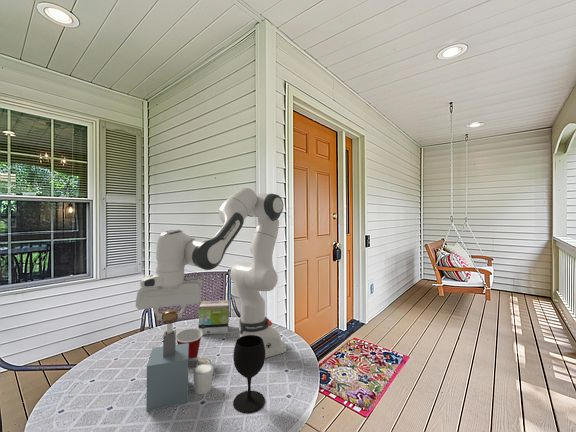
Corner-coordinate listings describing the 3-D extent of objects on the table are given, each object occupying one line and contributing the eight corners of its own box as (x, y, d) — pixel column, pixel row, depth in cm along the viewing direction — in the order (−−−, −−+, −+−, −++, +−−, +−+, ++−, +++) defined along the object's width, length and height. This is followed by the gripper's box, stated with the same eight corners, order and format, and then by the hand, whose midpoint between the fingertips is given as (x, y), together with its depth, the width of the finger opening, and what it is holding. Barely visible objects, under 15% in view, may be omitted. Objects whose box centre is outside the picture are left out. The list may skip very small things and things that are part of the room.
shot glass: (207, 396, 90) (207, 375, 90) (188, 393, 91) (188, 372, 91) (216, 383, 97) (216, 364, 97) (199, 381, 98) (199, 362, 98)
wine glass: (236, 417, 80) (237, 351, 81) (230, 396, 90) (230, 336, 90) (269, 407, 85) (269, 344, 85) (259, 388, 94) (260, 331, 94)
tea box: (198, 335, 135) (198, 306, 135) (200, 327, 145) (200, 300, 145) (228, 333, 138) (228, 305, 138) (228, 325, 148) (229, 299, 148)
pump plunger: (177, 339, 93) (178, 308, 93) (176, 345, 89) (177, 313, 89) (162, 341, 92) (163, 310, 92) (161, 348, 87) (161, 314, 87)
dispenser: (197, 379, 99) (197, 322, 99) (197, 400, 88) (197, 336, 88) (152, 387, 94) (152, 328, 94) (146, 411, 83) (146, 343, 83)
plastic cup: (176, 373, 103) (176, 342, 103) (173, 359, 113) (174, 331, 113) (205, 366, 108) (205, 336, 108) (200, 353, 118) (200, 326, 118)
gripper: (202, 274, 97) (201, 312, 97) (138, 278, 90) (138, 319, 90) (202, 278, 91) (202, 318, 91) (134, 282, 84) (134, 326, 84)
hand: (169, 318), depth 90 cm, fingers closed on pump plunger, 5 cm apart
